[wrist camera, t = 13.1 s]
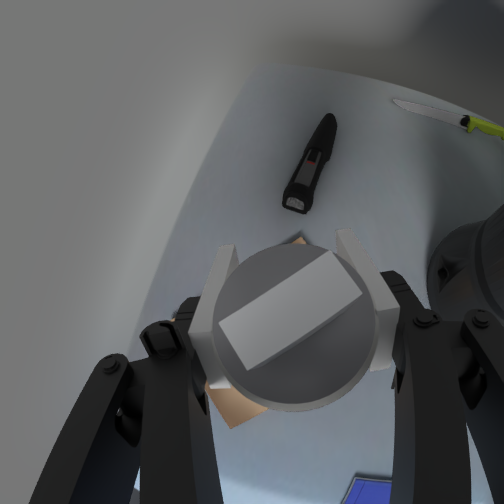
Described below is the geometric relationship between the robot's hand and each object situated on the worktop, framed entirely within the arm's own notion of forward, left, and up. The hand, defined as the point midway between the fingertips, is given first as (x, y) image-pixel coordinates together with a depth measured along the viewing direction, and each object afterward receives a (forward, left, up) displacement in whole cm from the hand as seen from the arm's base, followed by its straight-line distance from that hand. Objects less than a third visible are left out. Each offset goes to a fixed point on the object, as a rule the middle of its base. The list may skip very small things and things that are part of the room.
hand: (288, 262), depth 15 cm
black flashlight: (-13, -14, -19) cm, 27 cm away
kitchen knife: (-39, -9, -18) cm, 44 cm away
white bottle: (+2, +3, -3) cm, 5 cm away
